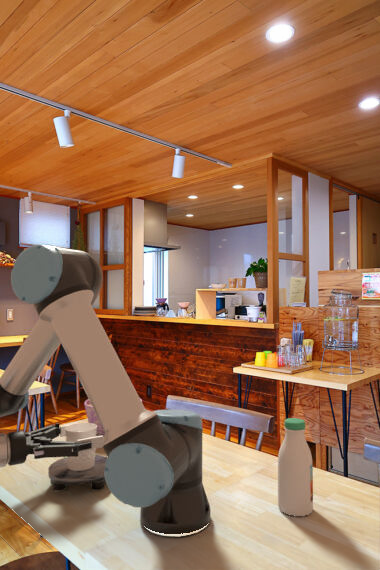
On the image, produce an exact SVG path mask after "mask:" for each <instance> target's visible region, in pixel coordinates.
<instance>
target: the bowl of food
mask: <svg viewBox="0 0 380 570" xmlns="http://www.w3.org/2000/svg"><path fill="white" fill-rule="evenodd" d="M140 400H141V402H142V403H143V399H142V398H140ZM83 405H84V410H85V413H86V417H87V420H88V421H87V423H93V424H95V425H97V434H98V435H99V436H103V438H104V435H105V431H104V428H103V426H102V424H101V422H100V420H99V418H98V416H97V414H96V412H95V410H94V408H93V406H92V404H91V402H90V400H89V398H88V399H86V400H85V401H84V404H83Z"/></svg>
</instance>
